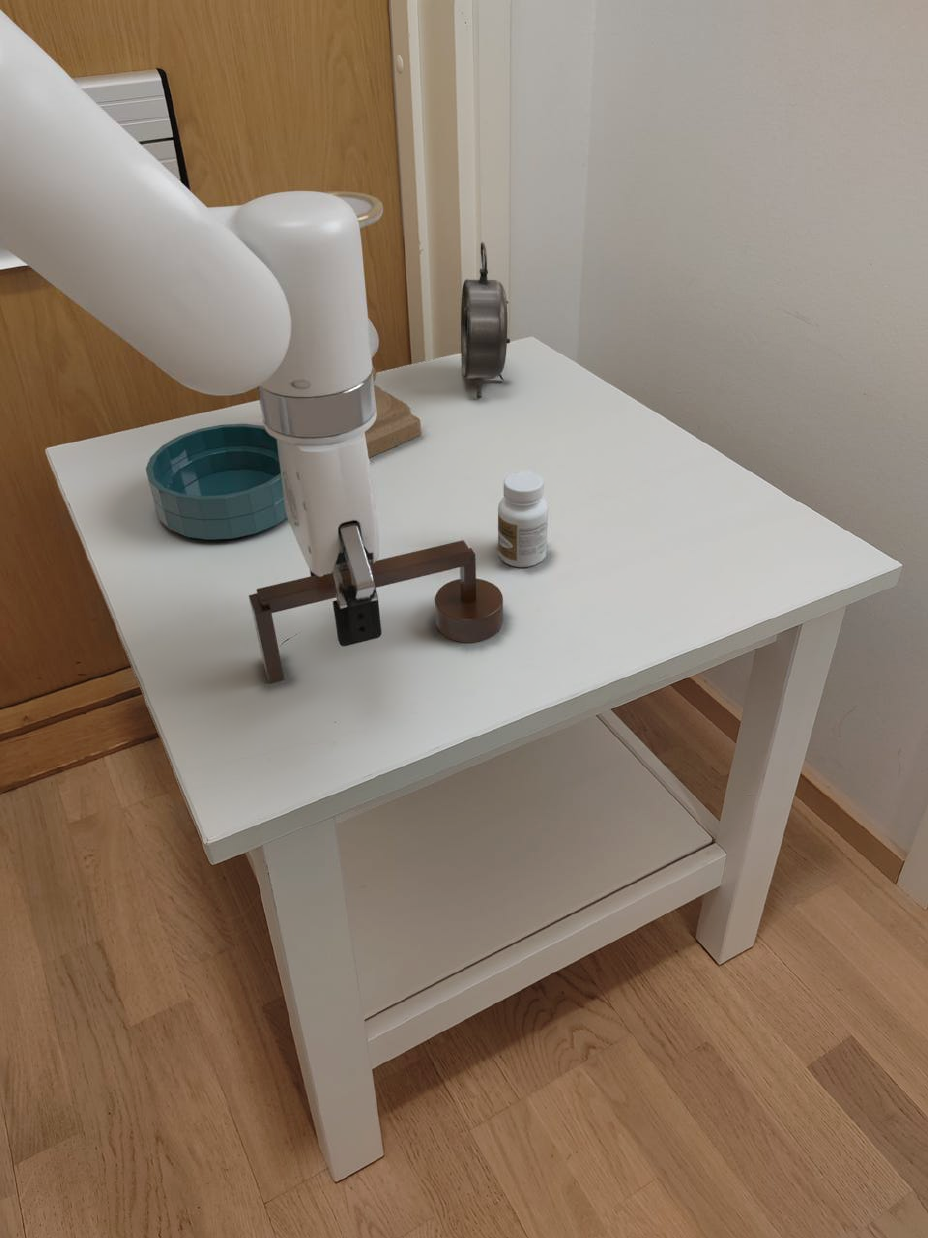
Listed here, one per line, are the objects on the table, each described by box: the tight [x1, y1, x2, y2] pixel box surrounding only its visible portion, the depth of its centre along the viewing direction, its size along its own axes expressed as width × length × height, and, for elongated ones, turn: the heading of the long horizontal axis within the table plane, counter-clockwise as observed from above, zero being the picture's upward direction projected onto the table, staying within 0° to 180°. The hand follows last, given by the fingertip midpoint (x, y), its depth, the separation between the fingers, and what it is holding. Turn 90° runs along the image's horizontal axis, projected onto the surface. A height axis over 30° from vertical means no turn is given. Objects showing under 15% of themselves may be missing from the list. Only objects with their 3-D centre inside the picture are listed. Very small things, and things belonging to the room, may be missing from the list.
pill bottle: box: [497, 470, 549, 568], centre depth 84 cm, size 4×4×8 cm
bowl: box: [145, 423, 288, 541], centre depth 93 cm, size 14×14×5 cm
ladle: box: [248, 539, 504, 684], centre depth 75 cm, size 20×6×8 cm, turn 111°
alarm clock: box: [460, 241, 511, 399], centre depth 109 cm, size 11×5×16 cm, turn 3°
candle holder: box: [321, 190, 422, 458], centre depth 97 cm, size 11×11×24 cm
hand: (345, 606), depth 74 cm, fingers open, 7 cm apart
